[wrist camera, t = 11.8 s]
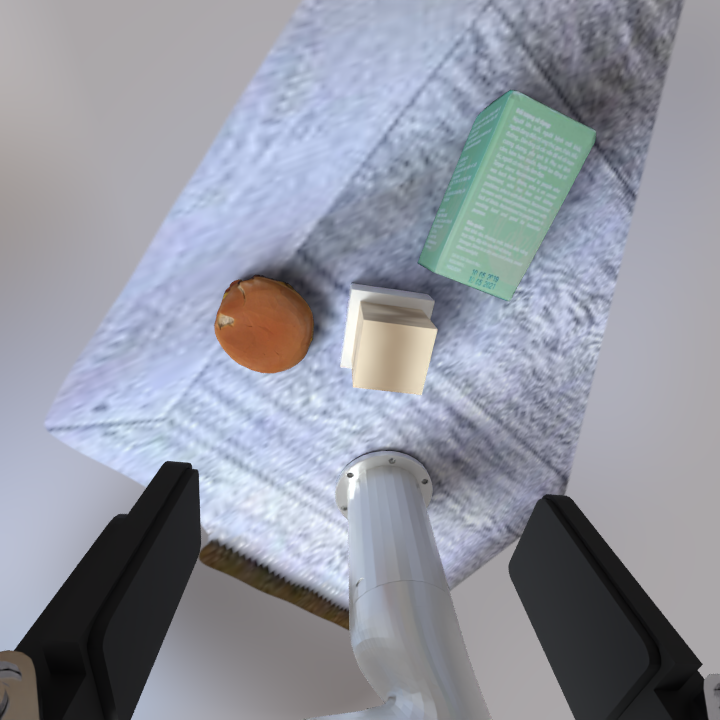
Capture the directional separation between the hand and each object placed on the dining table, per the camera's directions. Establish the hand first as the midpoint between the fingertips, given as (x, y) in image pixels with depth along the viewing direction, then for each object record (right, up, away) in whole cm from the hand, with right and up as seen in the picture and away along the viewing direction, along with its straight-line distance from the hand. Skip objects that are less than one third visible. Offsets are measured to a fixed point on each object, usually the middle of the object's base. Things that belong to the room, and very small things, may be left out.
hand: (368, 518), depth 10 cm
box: (+11, +19, +24) cm, 32 cm away
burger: (-10, +9, +27) cm, 30 cm away
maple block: (+2, +7, +25) cm, 26 cm away
